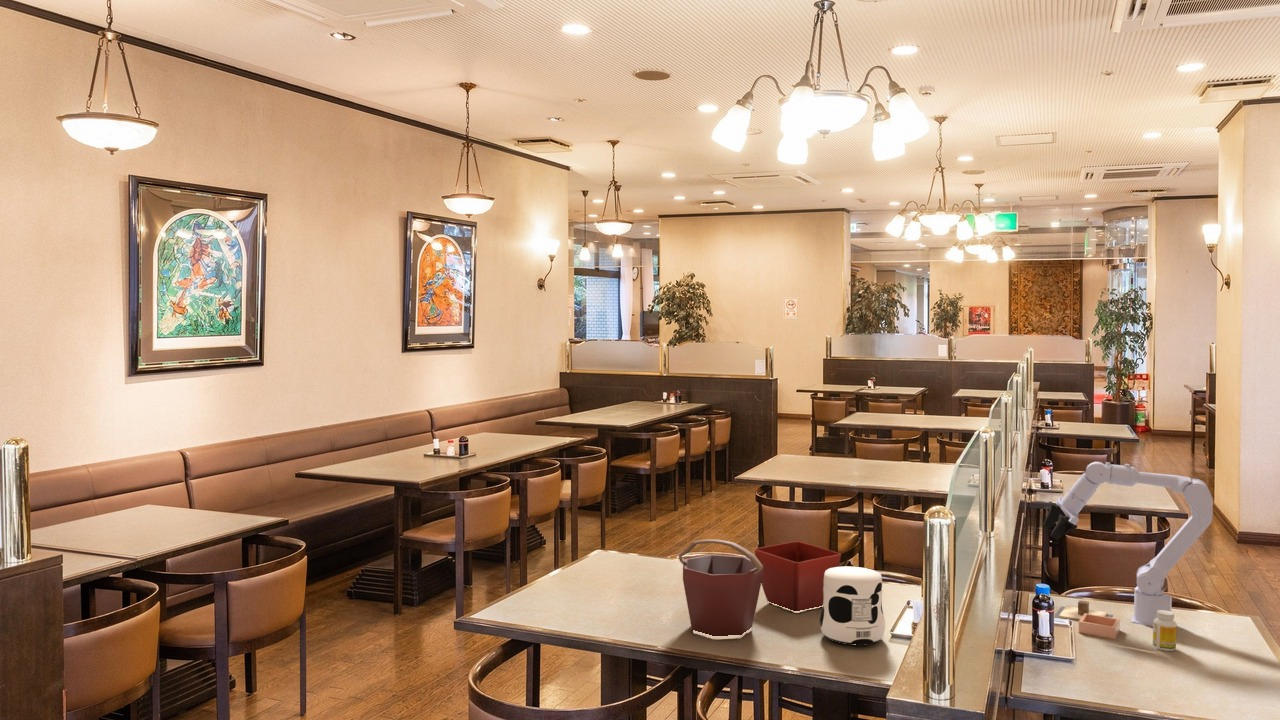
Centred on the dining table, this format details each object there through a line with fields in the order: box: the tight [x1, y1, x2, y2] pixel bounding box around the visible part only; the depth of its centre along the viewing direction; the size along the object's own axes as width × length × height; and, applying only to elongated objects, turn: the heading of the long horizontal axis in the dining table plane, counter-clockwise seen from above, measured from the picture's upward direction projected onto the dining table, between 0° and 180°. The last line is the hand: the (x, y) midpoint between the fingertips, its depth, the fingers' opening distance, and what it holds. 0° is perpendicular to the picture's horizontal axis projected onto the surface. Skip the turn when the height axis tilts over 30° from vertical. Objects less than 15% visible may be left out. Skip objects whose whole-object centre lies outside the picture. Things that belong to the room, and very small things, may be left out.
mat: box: [1054, 605, 1114, 622], centre depth 264 cm, size 14×12×1 cm
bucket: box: [677, 539, 763, 636], centre depth 253 cm, size 24×22×25 cm
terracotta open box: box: [1078, 613, 1121, 640], centre depth 251 cm, size 9×9×4 cm
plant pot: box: [754, 540, 842, 611], centre depth 274 cm, size 19×19×17 cm
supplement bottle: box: [1152, 610, 1178, 652], centre depth 239 cm, size 5×5×10 cm
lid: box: [1059, 600, 1108, 622], centre depth 264 cm, size 11×11×4 cm
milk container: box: [819, 565, 886, 646], centre depth 245 cm, size 17×17×18 cm
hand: (1049, 532), depth 271 cm, fingers open, 7 cm apart
